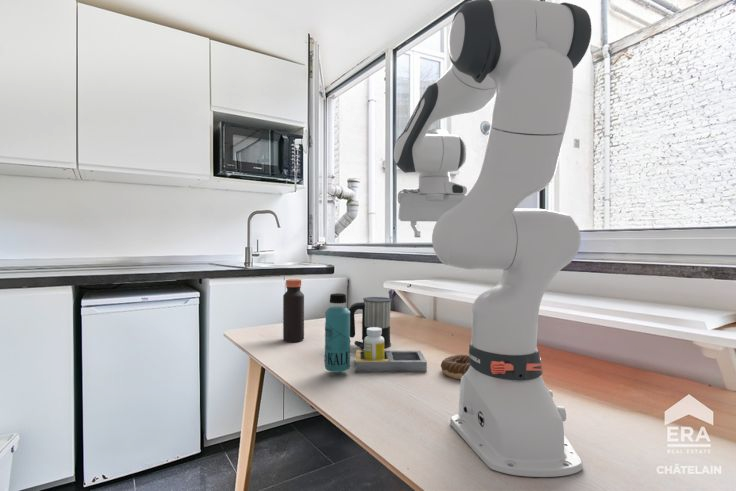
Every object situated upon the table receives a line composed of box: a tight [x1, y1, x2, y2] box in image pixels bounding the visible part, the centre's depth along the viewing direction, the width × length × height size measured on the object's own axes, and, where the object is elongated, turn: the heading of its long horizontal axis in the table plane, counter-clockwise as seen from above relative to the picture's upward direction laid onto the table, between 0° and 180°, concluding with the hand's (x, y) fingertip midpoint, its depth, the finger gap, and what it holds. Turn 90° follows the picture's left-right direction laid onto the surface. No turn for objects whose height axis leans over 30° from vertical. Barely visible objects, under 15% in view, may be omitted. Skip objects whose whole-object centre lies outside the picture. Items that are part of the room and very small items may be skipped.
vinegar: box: [282, 278, 305, 343], centre depth 125 cm, size 7×7×20 cm
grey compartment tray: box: [355, 349, 428, 373], centre depth 101 cm, size 10×18×3 cm, turn 91°
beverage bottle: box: [323, 292, 351, 373], centre depth 94 cm, size 6×7×20 cm
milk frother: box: [348, 296, 393, 350], centre depth 116 cm, size 14×16×15 cm
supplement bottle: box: [363, 327, 385, 359], centre depth 100 cm, size 5×5×10 cm
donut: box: [440, 354, 470, 381], centre depth 94 cm, size 11×11×4 cm
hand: (433, 237), depth 108 cm, fingers open, 8 cm apart
